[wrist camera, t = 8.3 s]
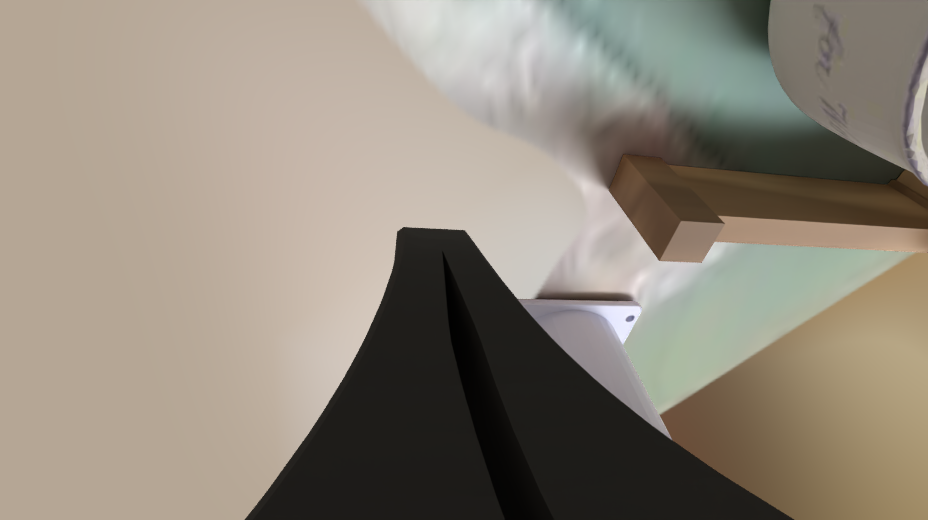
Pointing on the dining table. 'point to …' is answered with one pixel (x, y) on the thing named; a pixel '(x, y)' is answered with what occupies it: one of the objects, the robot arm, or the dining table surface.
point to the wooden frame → (766, 209)
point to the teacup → (858, 71)
